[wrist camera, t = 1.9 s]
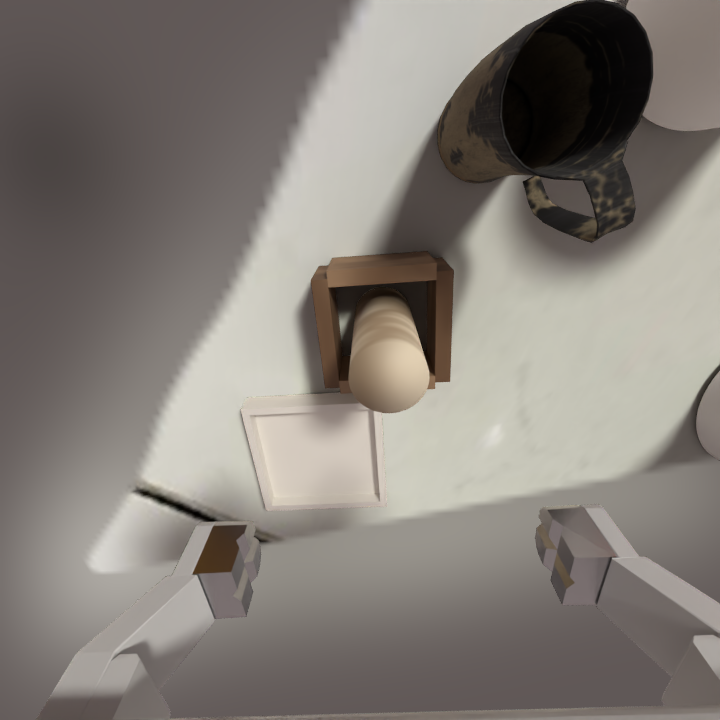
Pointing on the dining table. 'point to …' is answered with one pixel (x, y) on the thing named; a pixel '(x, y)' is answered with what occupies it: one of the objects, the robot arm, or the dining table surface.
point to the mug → (556, 112)
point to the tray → (316, 451)
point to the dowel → (386, 353)
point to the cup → (682, 62)
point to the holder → (384, 272)
